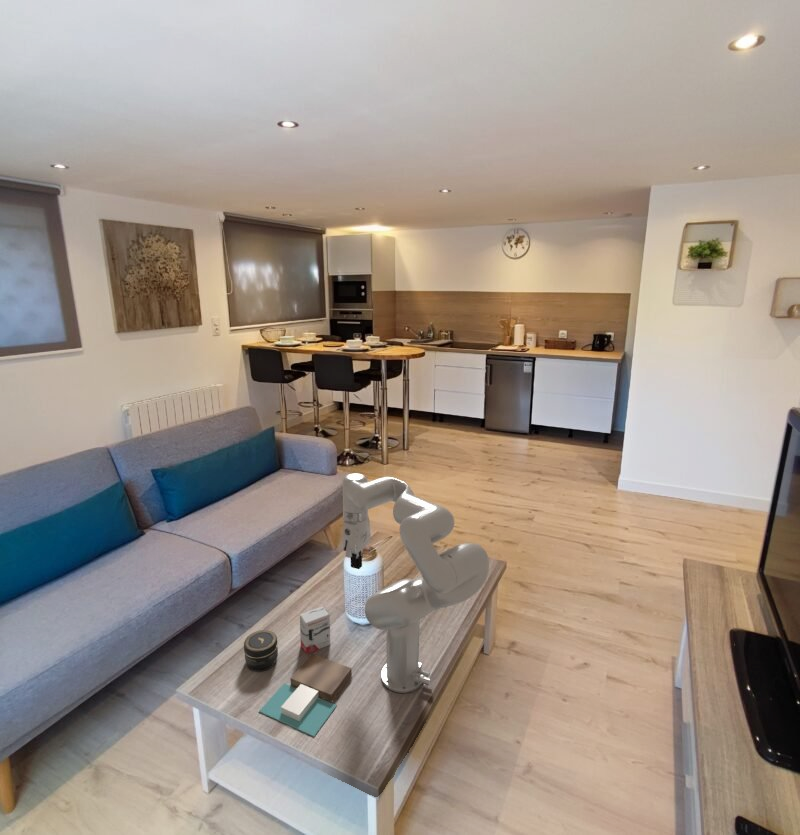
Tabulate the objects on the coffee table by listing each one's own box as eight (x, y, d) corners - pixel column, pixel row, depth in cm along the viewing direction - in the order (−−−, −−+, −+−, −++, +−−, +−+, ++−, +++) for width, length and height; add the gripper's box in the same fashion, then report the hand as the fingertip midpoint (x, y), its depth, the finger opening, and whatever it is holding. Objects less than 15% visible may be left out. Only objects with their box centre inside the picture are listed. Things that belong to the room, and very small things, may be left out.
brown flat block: (351, 675, 147) (351, 668, 146) (331, 702, 137) (331, 694, 137) (312, 660, 153) (312, 653, 152) (290, 685, 143) (290, 678, 142)
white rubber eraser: (318, 696, 139) (318, 691, 138) (299, 721, 131) (298, 715, 130) (301, 689, 141) (300, 683, 141) (281, 713, 133) (280, 707, 133)
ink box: (306, 655, 155) (305, 622, 152) (300, 645, 159) (298, 614, 156) (331, 644, 160) (330, 613, 157) (324, 636, 164) (323, 605, 161)
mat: (336, 706, 136) (336, 705, 136) (314, 736, 127) (313, 736, 127) (284, 684, 143) (284, 683, 143) (259, 711, 134) (259, 710, 134)
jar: (261, 645, 159) (260, 625, 157) (285, 656, 154) (284, 635, 152) (238, 665, 150) (236, 644, 148) (262, 677, 146) (261, 656, 144)
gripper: (353, 526, 142) (354, 582, 147) (377, 506, 155) (377, 558, 160) (331, 521, 145) (333, 576, 150) (357, 502, 158) (357, 553, 163)
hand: (356, 566), depth 155 cm, fingers closed
